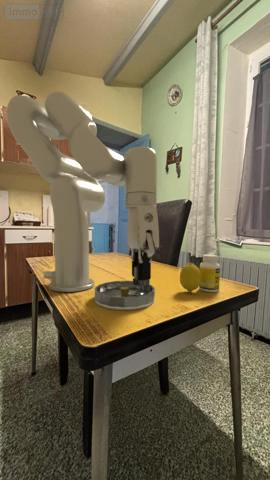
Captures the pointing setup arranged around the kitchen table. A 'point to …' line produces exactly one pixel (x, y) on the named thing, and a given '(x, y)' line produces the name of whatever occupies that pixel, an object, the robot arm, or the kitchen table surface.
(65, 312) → the kitchen table surface
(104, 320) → the kitchen table surface
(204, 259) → the supplement bottle
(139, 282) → the gear
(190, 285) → the lemon
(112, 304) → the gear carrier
